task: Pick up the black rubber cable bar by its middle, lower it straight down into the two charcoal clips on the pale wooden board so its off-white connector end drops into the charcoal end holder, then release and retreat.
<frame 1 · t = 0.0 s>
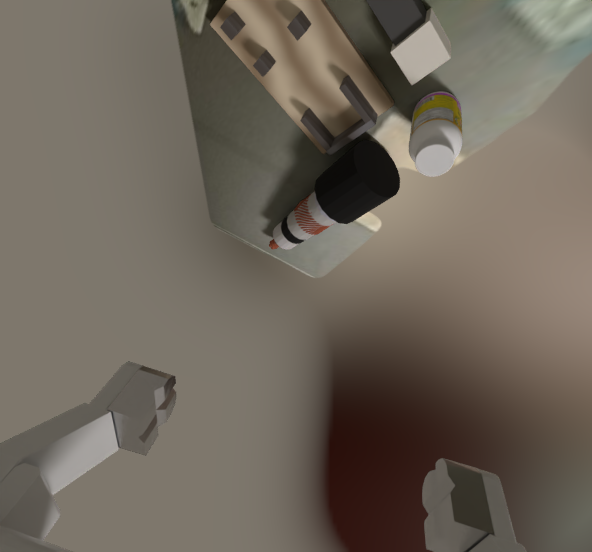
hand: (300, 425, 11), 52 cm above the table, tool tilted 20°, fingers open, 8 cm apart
supplement bottle: (436, 111, 52), on the table
cable: (320, 199, 71), on the table
clip board: (305, 62, 52), on the table
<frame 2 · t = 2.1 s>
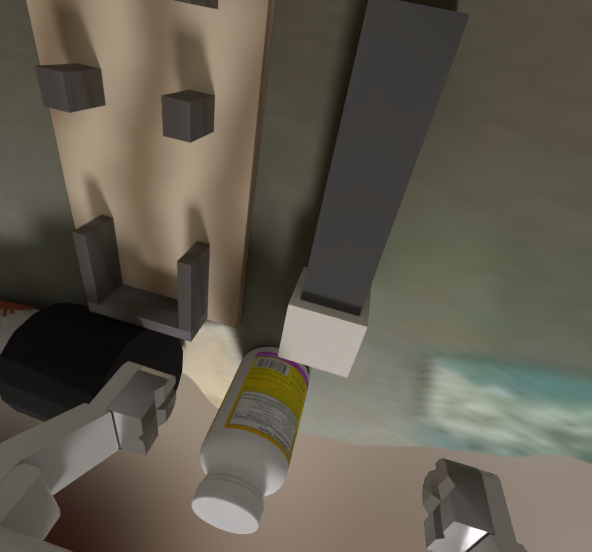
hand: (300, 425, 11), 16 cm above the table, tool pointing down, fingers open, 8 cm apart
supplement bottle: (277, 367, 34), on the table
cable bar: (367, 171, 22), on the table
cable: (42, 312, 38), on the table
clip board: (160, 158, 25), on the table
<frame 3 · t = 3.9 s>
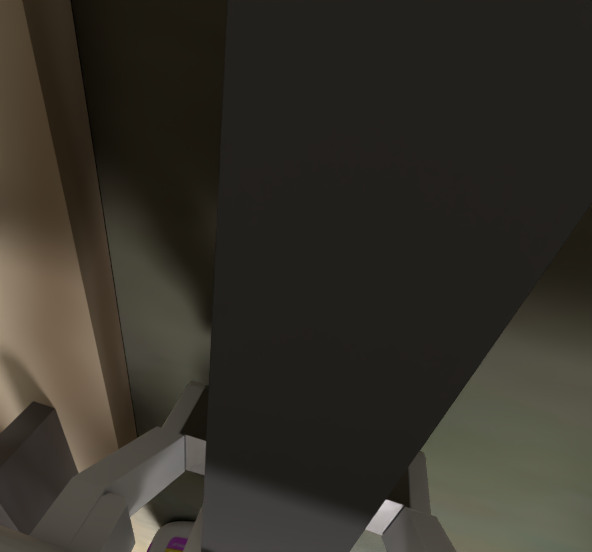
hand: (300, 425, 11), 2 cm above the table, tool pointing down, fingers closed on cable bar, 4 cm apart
supplement bottle: (211, 540, 22), on the table
cable bar: (330, 317, 10), on the table, touching gripper
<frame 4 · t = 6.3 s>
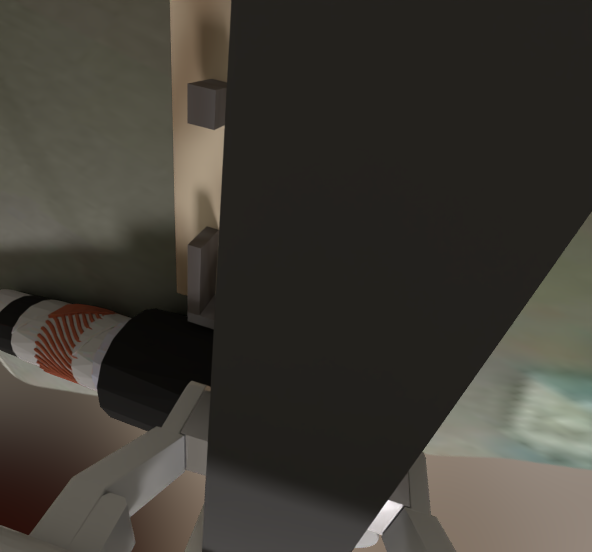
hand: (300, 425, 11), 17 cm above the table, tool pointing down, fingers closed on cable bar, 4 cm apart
cable bar: (331, 318, 10), point 15 cm above the table, touching gripper
cable: (116, 315, 38), on the table
clip board: (275, 172, 24), on the table
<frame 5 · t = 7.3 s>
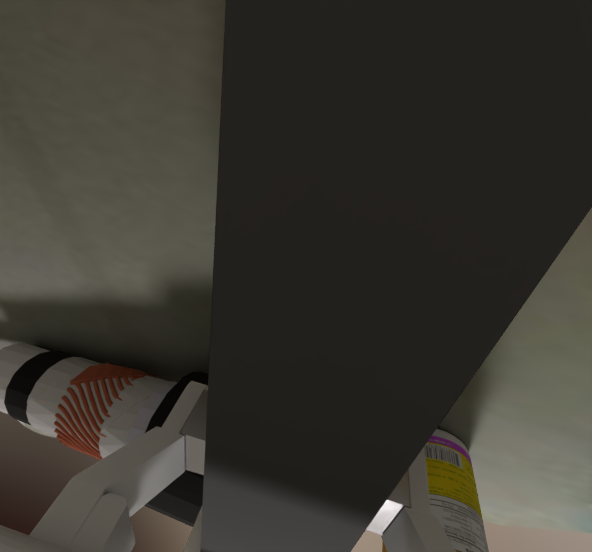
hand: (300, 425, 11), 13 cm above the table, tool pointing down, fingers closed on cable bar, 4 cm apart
supplement bottle: (425, 445, 30), on the table
cable bar: (330, 319, 10), point 11 cm above the table, touching gripper
cable: (143, 371, 33), on the table
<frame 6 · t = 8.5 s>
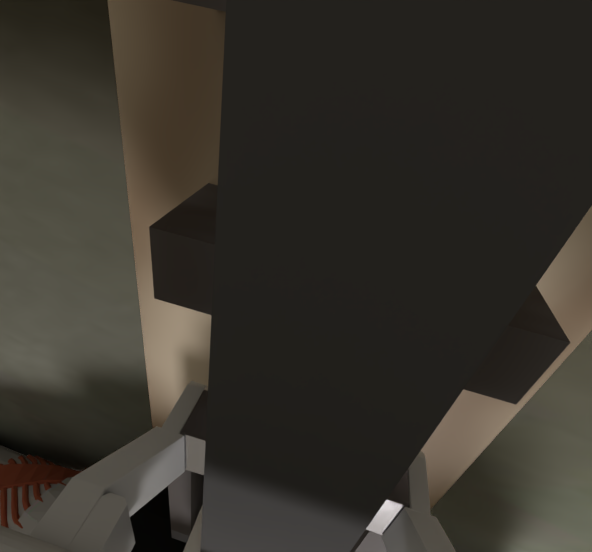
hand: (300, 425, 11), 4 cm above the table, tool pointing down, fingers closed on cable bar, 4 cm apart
cable bar: (330, 319, 10), point 2 cm above the table, touching gripper
cable: (73, 458, 26), on the table
clip board: (326, 326, 13), on the table
when the fingers open (3 cm above the table, at t = 8.9 s): cable bar stays where it is, resting on clip board.
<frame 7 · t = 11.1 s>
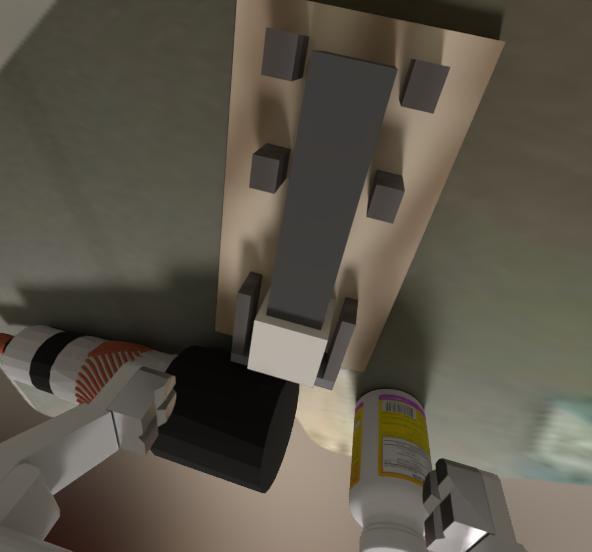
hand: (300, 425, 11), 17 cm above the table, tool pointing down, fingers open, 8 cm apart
supplement bottle: (389, 406, 35), on the table
cable bar: (326, 196, 24), point 1 cm above the table, touching clip board
cable: (148, 349, 38), on the table
clip board: (319, 222, 26), on the table
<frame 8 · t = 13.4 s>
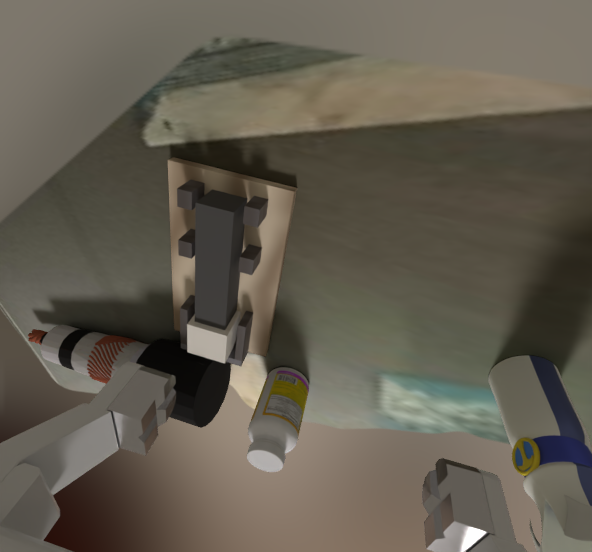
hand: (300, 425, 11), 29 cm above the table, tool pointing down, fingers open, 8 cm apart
supplement bottle: (289, 379, 54), on the table
cable bar: (225, 256, 43), point 1 cm above the table, touching clip board
cable: (134, 341, 58), on the table
water bottle: (520, 377, 44), on the table
clip board: (227, 267, 45), on the table
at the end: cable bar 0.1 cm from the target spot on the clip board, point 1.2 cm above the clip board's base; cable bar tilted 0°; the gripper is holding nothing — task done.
